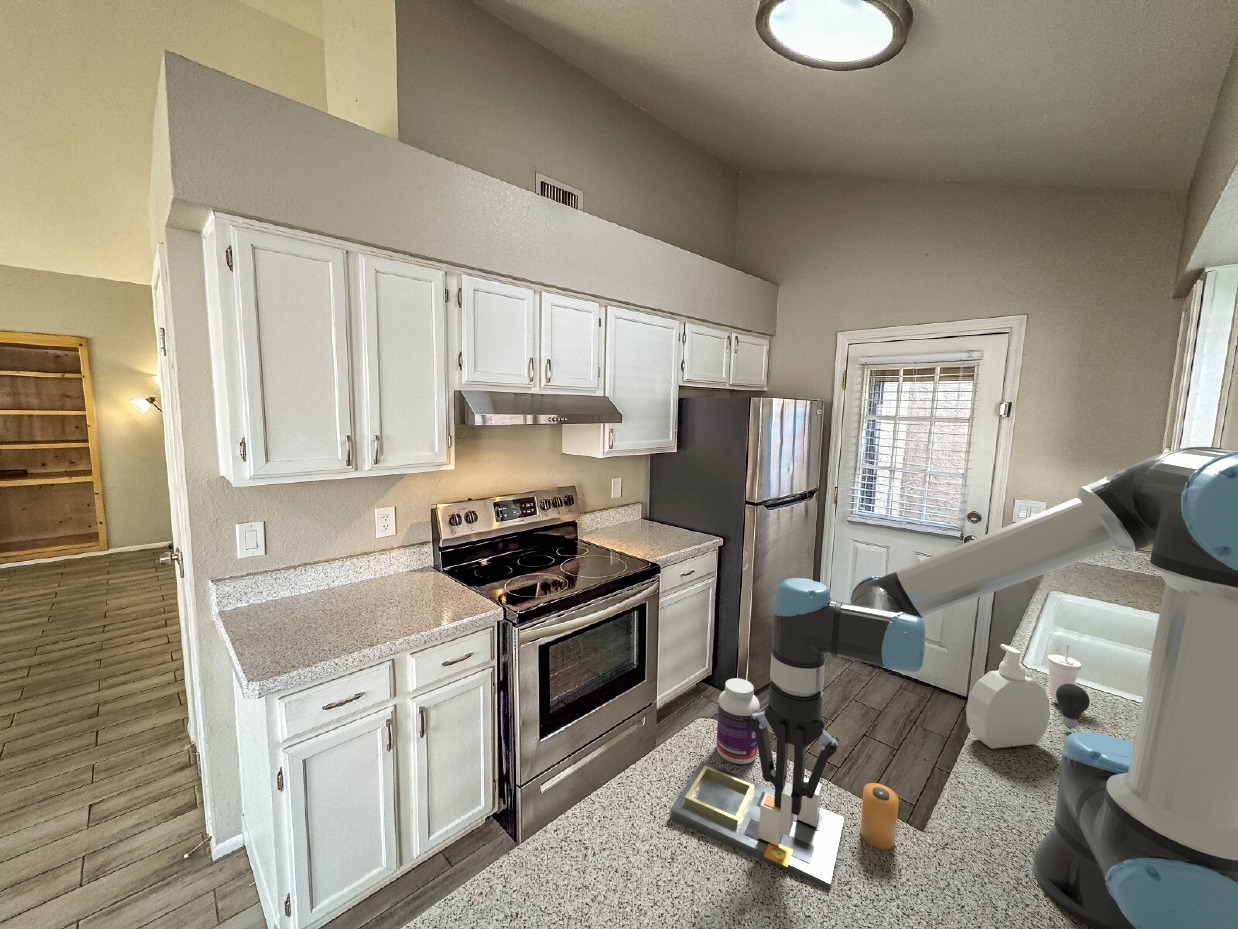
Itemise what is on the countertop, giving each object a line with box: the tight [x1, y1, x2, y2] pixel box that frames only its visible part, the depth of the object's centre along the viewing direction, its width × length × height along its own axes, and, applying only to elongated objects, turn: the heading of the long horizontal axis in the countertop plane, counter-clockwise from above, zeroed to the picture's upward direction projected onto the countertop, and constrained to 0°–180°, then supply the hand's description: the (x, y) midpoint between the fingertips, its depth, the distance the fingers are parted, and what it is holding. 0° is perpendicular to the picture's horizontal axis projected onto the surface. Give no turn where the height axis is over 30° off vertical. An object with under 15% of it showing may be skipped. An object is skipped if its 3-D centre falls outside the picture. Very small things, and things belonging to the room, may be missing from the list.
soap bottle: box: [965, 643, 1051, 750], centre depth 108 cm, size 16×5×20 cm, turn 100°
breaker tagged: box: [759, 793, 782, 846], centre depth 79 cm, size 3×3×6 cm
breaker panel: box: [669, 760, 845, 890], centre depth 84 cm, size 25×15×3 cm, turn 59°
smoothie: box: [1046, 643, 1082, 701], centre depth 125 cm, size 6×6×14 cm
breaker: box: [797, 776, 823, 827], centre depth 83 cm, size 3×3×6 cm
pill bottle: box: [716, 677, 761, 765], centre depth 101 cm, size 8×8×14 cm
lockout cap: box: [859, 782, 900, 850], centre depth 82 cm, size 5×5×8 cm
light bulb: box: [1056, 684, 1091, 730], centre depth 113 cm, size 6×6×10 cm
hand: (786, 828), depth 78 cm, fingers closed
